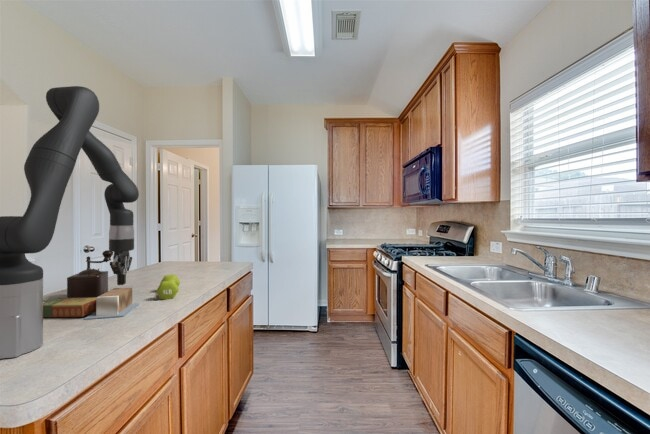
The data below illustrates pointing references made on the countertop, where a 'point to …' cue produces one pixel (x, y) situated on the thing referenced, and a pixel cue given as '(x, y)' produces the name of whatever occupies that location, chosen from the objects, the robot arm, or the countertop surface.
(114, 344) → the countertop surface
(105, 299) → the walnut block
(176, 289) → the dumbbell
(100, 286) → the manual coffee grinder
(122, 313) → the mat
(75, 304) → the carton
